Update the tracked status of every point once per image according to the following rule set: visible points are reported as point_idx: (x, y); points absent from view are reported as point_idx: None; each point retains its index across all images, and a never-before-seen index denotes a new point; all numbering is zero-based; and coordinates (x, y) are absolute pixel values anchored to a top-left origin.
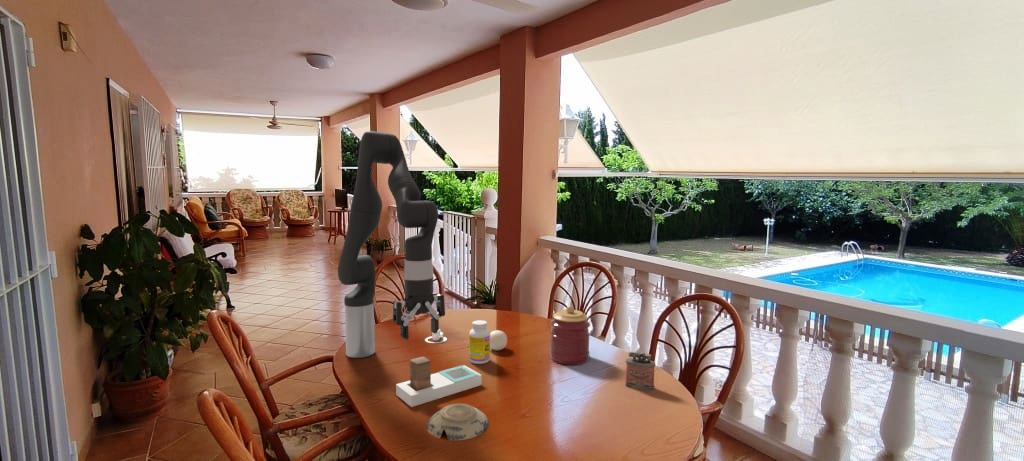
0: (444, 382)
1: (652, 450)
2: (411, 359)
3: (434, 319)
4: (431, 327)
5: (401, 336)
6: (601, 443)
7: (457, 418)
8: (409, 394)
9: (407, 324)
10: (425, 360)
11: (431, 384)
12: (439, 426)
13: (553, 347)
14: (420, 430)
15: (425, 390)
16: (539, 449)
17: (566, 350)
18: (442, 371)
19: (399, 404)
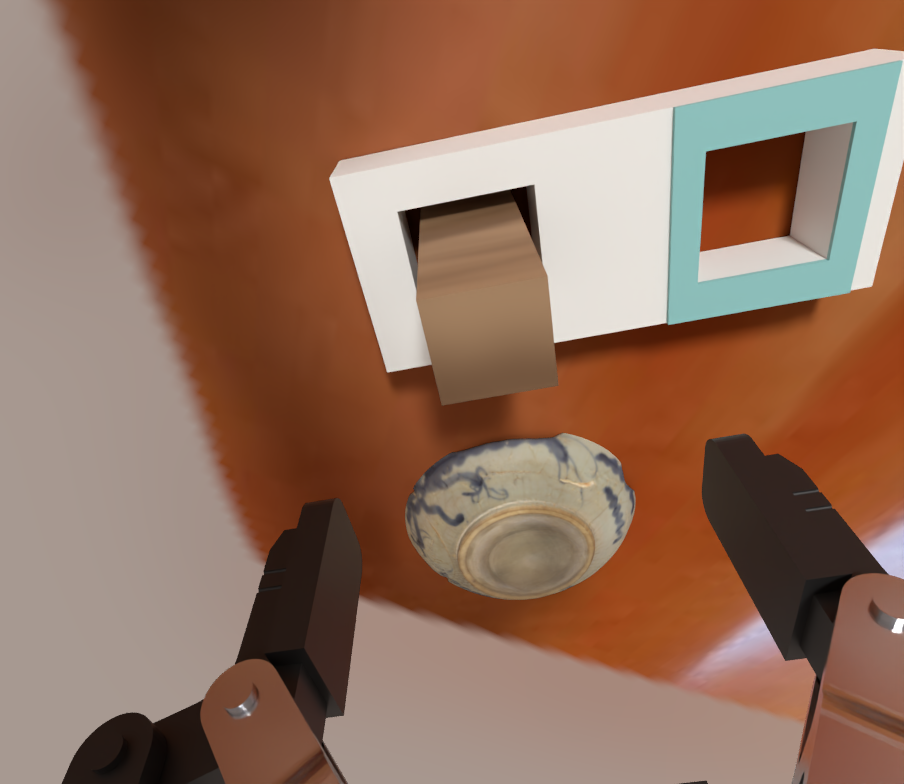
0: (619, 293)
1: None
2: (429, 300)
3: (806, 647)
4: (733, 482)
5: (283, 545)
6: (785, 691)
7: (501, 592)
8: (382, 353)
9: (327, 748)
10: (526, 368)
11: None
12: (436, 567)
13: None
14: (381, 509)
15: None
16: (644, 669)
17: None
18: (705, 116)
19: (339, 288)
